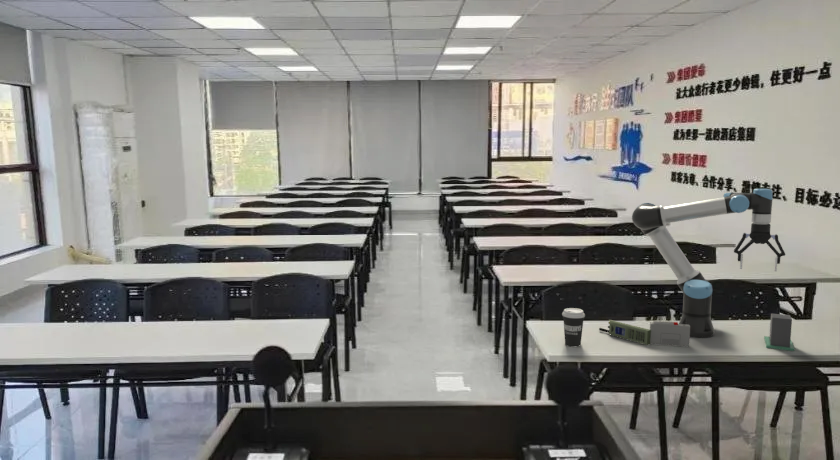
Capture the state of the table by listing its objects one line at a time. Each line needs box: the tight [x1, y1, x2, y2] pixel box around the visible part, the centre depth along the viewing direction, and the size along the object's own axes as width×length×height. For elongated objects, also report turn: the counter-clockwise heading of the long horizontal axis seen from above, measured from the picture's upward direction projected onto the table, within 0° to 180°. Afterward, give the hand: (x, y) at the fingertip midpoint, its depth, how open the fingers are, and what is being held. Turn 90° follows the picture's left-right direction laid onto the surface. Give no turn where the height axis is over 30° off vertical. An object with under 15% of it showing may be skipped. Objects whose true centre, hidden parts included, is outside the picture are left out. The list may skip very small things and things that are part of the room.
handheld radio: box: [598, 319, 651, 346], centre depth 266 cm, size 7×3×25 cm
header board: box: [763, 335, 795, 352], centre depth 255 cm, size 10×14×4 cm
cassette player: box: [649, 320, 691, 348], centre depth 256 cm, size 16×3×10 cm, turn 75°
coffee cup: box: [561, 307, 586, 347], centre depth 257 cm, size 10×10×15 cm
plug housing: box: [768, 313, 793, 347], centre depth 252 cm, size 7×7×12 cm
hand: (757, 269), depth 271 cm, fingers open, 13 cm apart
